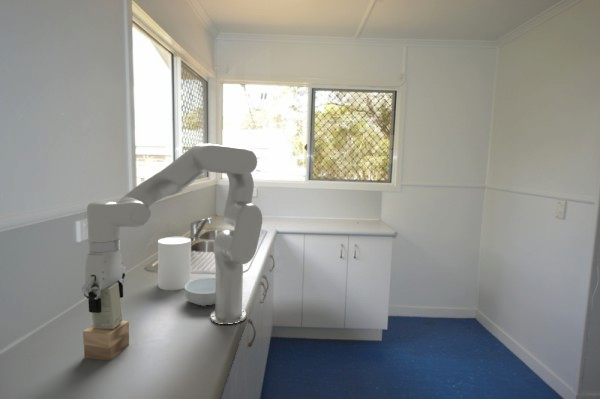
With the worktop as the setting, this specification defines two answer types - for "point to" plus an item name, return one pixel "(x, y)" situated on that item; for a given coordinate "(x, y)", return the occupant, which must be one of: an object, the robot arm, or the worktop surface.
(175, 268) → the canister
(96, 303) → the robot arm
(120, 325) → the oak top block
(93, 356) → the walnut base block
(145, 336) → the worktop surface
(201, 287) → the cereal bowl
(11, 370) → the worktop surface
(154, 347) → the worktop surface
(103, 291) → the skincare box
